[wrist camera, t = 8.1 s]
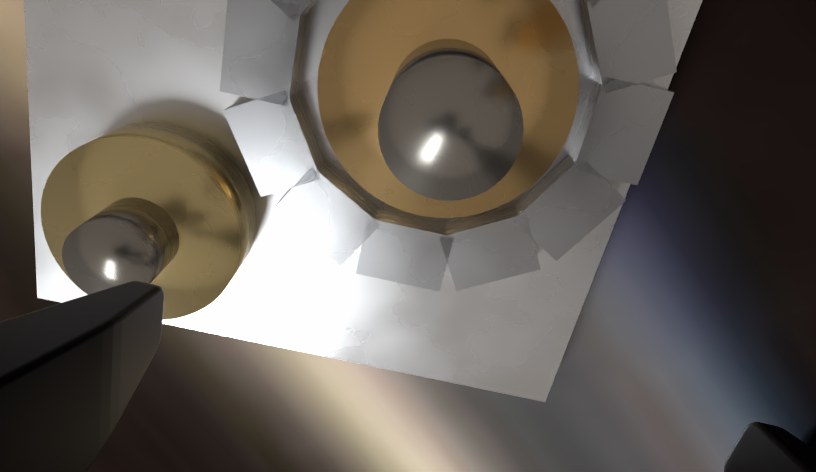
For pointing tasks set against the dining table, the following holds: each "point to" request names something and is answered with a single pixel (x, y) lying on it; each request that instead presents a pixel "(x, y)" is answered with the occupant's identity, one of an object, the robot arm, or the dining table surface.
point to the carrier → (319, 187)
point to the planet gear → (447, 99)
